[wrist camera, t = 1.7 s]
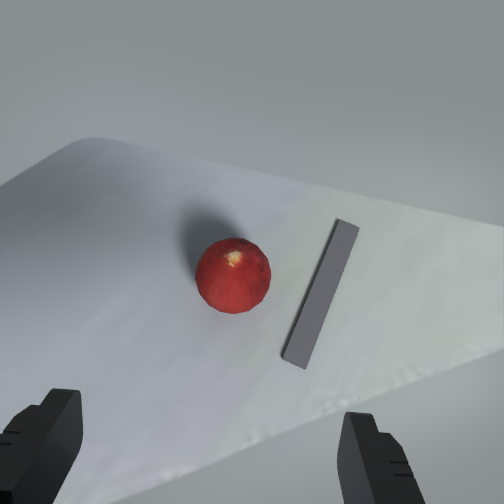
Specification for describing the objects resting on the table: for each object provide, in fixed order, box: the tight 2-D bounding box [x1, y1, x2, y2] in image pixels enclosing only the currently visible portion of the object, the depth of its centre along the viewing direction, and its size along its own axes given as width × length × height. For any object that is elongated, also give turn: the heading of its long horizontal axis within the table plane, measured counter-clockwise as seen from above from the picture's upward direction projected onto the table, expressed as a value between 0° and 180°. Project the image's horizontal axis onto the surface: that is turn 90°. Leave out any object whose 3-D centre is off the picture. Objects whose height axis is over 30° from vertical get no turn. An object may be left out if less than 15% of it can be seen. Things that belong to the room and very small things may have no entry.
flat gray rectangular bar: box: [282, 220, 360, 369], centre depth 37 cm, size 2×14×1 cm, turn 156°
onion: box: [195, 238, 271, 314], centre depth 33 cm, size 6×6×8 cm
